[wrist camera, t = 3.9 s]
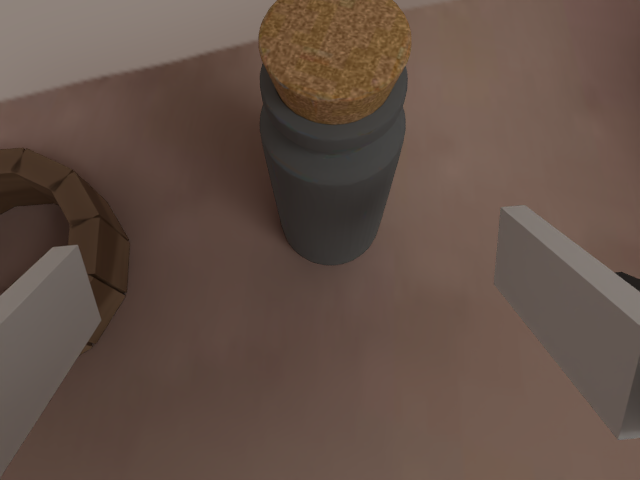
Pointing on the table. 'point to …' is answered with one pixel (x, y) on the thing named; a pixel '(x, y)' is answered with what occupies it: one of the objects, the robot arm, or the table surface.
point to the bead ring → (73, 222)
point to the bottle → (332, 119)
